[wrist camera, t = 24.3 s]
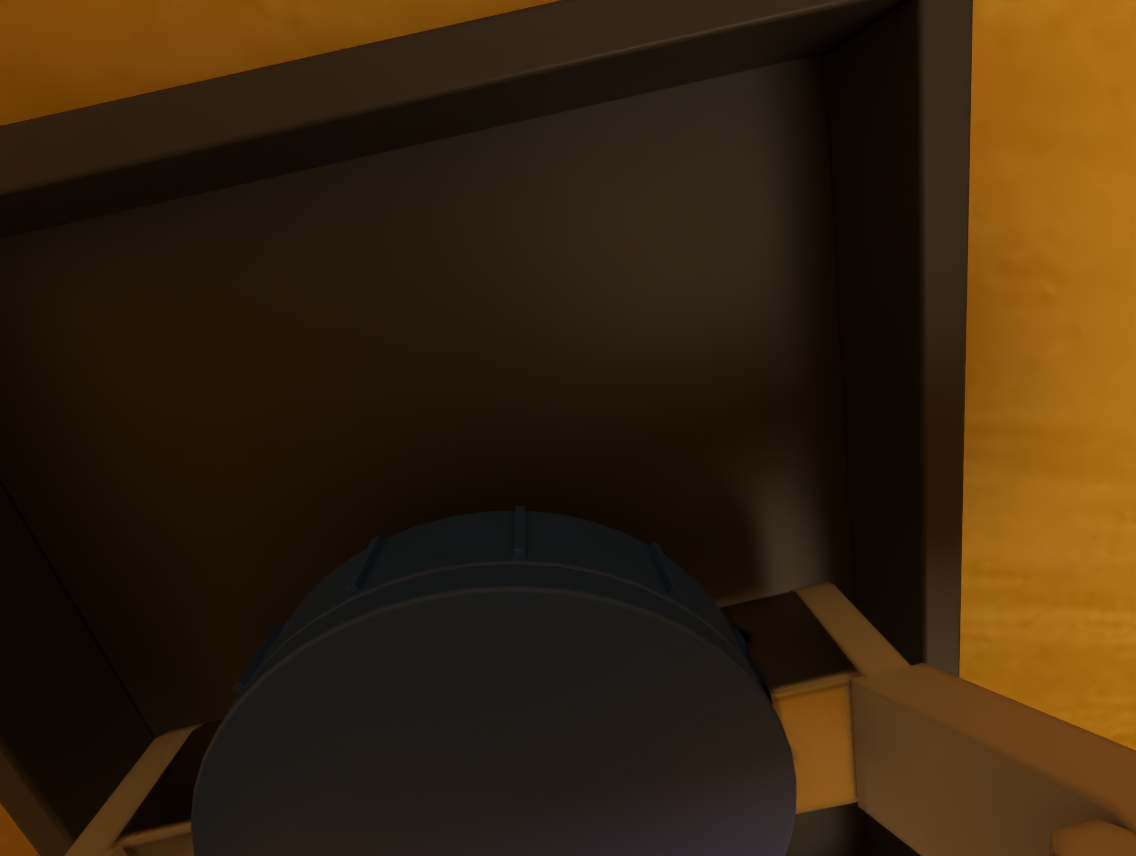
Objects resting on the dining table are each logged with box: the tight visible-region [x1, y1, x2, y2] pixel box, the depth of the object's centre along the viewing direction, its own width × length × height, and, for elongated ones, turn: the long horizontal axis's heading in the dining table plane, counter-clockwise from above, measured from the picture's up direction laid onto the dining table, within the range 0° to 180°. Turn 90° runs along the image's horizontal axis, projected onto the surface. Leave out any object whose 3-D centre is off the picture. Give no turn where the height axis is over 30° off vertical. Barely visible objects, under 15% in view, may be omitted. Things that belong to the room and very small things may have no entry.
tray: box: [0, 0, 973, 856], centre depth 8 cm, size 15×12×2 cm
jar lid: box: [191, 506, 797, 856], centre depth 6 cm, size 6×6×2 cm
